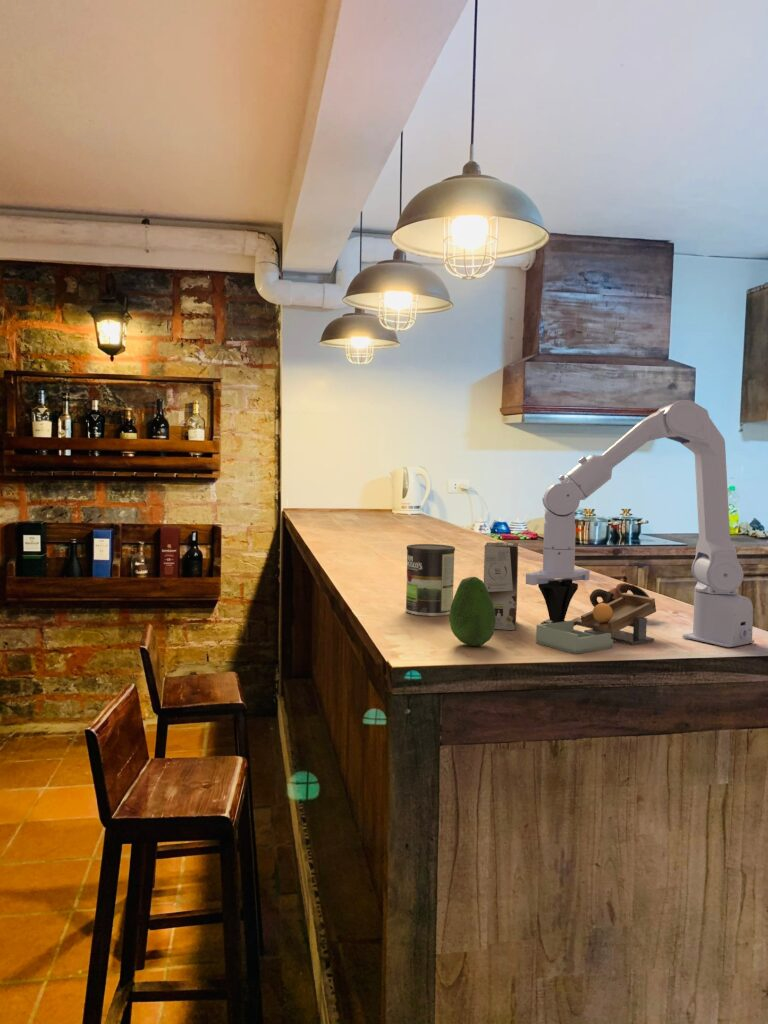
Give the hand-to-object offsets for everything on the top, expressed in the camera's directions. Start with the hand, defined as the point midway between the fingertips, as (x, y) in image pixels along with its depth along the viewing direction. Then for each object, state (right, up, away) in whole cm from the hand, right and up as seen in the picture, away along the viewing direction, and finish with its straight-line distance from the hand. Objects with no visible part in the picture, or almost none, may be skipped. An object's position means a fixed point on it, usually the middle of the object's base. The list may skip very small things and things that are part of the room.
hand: (556, 620), depth 140 cm
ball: (+7, +2, -4) cm, 9 cm away
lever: (+8, -1, 0) cm, 8 cm away
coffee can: (-22, -1, +21) cm, 31 cm away
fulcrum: (+11, -3, -2) cm, 11 cm away
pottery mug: (+17, -2, +17) cm, 24 cm away
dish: (+1, -3, -9) cm, 9 cm away
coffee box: (-9, -2, +8) cm, 12 cm away
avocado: (-17, -3, -10) cm, 20 cm away
